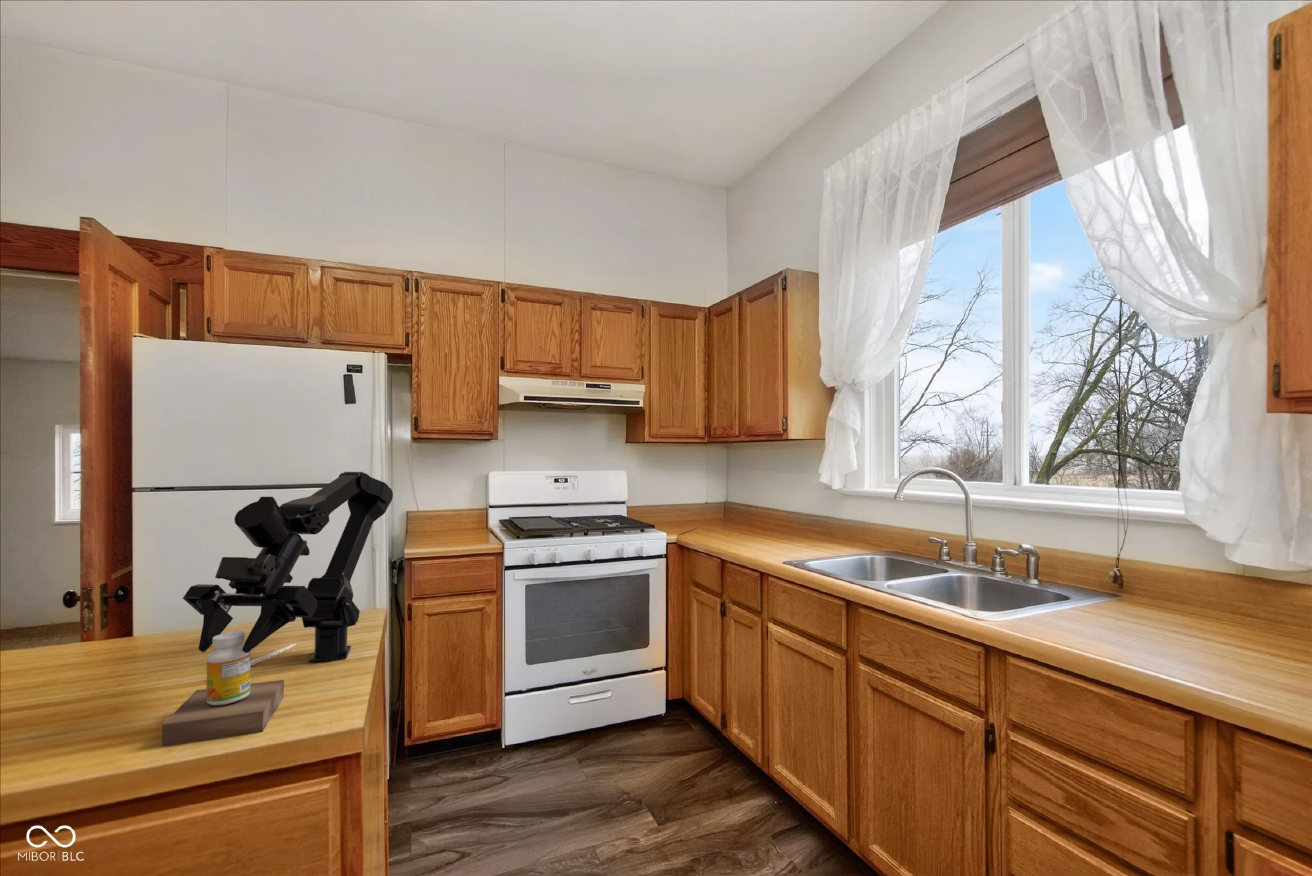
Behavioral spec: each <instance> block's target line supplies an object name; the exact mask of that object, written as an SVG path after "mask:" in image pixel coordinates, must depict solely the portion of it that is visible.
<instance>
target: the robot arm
mask: <svg viewBox="0 0 1312 876" xmlns="http://www.w3.org/2000/svg"><path fill="white" fill-rule="evenodd" d="M393 497H394V493H393V490H392V488H391V487H390V486H389V485H388V484H387V483H385V482H384V481H382V480H380V479H377V478H374V477H371V476H370V475H369V474H368V473H366V472H363V471H344V472H341V473H339V475H338V477H337V478H335V479H334V480H332V481H331V482H329V483H327V484H326V485H324V486H323V487H322V488H321V489H318V490H317V491H315V492H314V493H312V495H309V496H306V497H301V498H296V499H292V500H290V501H286V502H283V503H282V504H281V505H280V506H279V505H278V503H277V500H276V499H275V498H274V496H260V497H259V499H258V500H257V501H254V502H251V503H249V504H247V505H246V506H244V507H242V509H240V510H238V511H237V512H236V513H235V516H234V523H235V525H236V527H237V528H239V529H240V531H241V532H242V533H243V534H244V536H245V537H246V538H247V539H248V541H250V543H251V544H252V545H253V546H254V547H257V548H261V550H260V552H259V553H258V555H257V556H256V557H244V556H243V557H241V556H239V557H238V556H223V557H221V560H220V562H219V565H218V568H217V570H216V573H215V579H218V580H220V579H222V580H227V581H229V583H228V586H229V587H230V588H231V589H233V590H234V589H235V590H236V591H235V592H230V593H229V592H228V593H227V592H226V591H225V590H224V589H223V588H222V587H221V586H220V585H219V584H204V583H203V584H201V583H200V584H199V583H197V584H195V585H191V586H190V587H189V589H188V590H187V591H186V593H185V594H184V595H183V597H182V599H183V600H184V601H185V602H186V603H188V605H190V606H191V607H192V608H193V609H194V610H195V611H197V613H199V614H200V615H203V623H202V628H201V634H200V639H199V645H198V650H199V652H201V653H205V652H206V651H207V650H208V649H209V648H210V647H212V646H213V637H215V636H217V635H220V634H223V631H225V629H226V628H227V627H228V626H229V624H230V623H231V622H232V621H233V619H234V618H233V617H232V616H231V614H229V611H230V610H231V608H232V607H260V613H259V616H258V617H257V620H256V622H255V623H254V625H253V627H252V629H251V630H250V632H249V634H248V635H247V637H246V638H245V640H244V643H243V645H244V646H243V648H242V651H243V652H245V653H248V652H250V653H251V651H252V650H253V649H255V648H256V647H257V646H258V645H260V644H261V643H262V642H264V641H265V640H267V638H269V637H270V636H271V635H272V634H274V633H276V632H277V631H278V630H280V629H281V628H283V627H284V626H286V625H287V624H288V623H291V622H295V621H296V620H297V618H301V621H302V625H303V628H305V629H306V628H314V650H313V653H312V655H310V658H309V660H308V661H309V663H315V662H324V661H325V662H326V661H332V660H333V661H334V660H342V659H347V658H348V656H349V654H350V651H351V648H352V646H351V645H348V628H349V627H353V626H356V625H357V623H358V622H359V618H360V613H361V612H360V609H359V608H358V606H357V605H356V604H355V603H354V601H353V600H354V599H353V598H354V592H353V591H354V590H353V587H352V585H351V580H352V578H353V575H354V573H355V569H356V567H357V565H358V562H359V559H360V557H361V555H362V553H363V552H362V551H363V549H364V547H365V545H366V541H367V540H368V537H369V535H370V532H371V530H372V527H373V524H374V523H375V521H377V520H379V518H380V517H382V516H383V515H384V514H385V513H386V511H387V509H388V508H389V506H390V504H391V503H392V501H393ZM346 502H347V507H348V509H349V517H348V520H347V522H346V525H345V526H344V528H343V531H342V533H341V536H340V538H339V540H338V543H337V545H336V547H335V550H334V552H333V555H332V556H331V559H330V561H329V564H328V567H327V568H326V570H325V573H324V574H323V575H322V576H321V577H312V578H311V579H310V580H309V582H308V585H307V587H306V586H305V585H285V584H291V582H292V581H293V579H294V577H293V576H292V575H291V573H292V570H293V568H294V567H295V565H296V563H297V561H298V559H299V558H300V557H301V556H304V557H305V556H310V549H309V546H308V542H307V541H308V540H304V539H303V537H301V535H317V534H319V533H320V532H321V531H323V529H324V528H325V527H326V526H327V525H328V523H330V515H331V514H332V513H333V512H334V511H335V510H336V509H338V508H339V507H341V506H342V505H344V503H346Z"/></svg>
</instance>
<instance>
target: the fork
mask: <svg viewBox="0 0 1312 876" xmlns="http://www.w3.org/2000/svg"><path fill="white" fill-rule="evenodd" d="M296 645H297V643H293V644H290V645H287V646H285V647H282V648H280V649H278V650H275V651H273V652H270V653H268V654H264V655H262V656H259V657H256V658H255V659H252V660H250V667H252V666H251V665H253V664H255V663H257V662H259V661H262V660H264V659H266V658H268V657H270V658H272V657H274V656H276V655H278V654H280V653H282V652H284V651H286V650H288V649H290V648H293V647H294V646H296ZM285 649H286V650H285ZM279 652H280V653H279ZM277 653H278V654H277ZM273 655H274V656H273ZM271 656H272V657H271ZM268 659H269V658H268ZM266 660H267V659H266ZM264 661H265V660H264ZM262 662H263V661H262ZM257 664H258V663H257ZM255 665H256V664H255ZM253 666H254V665H253Z"/></svg>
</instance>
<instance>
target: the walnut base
mask: <svg viewBox="0 0 1312 876" xmlns="http://www.w3.org/2000/svg"><path fill="white" fill-rule="evenodd" d="M284 686H285V680H284V679H280V680H271V681H264V682H254V683H250V694H249V695H248V696H247V697H245V698H243V699H241V700H238V701H235V702H232V703H229V704H224V705H210V704H208V703H207V688H202V689H196V690H195V691H194V692H193V693H191V695H190V696H189V697H188V698H187V699H186V700H185V701H184V702H183V703H182V704H181V705H180V706H179V707H178V708H177V709H176V710H175V711H174V712H173V713H172V714H171V715H170V716H169V717H168V718H167V719H166V720H165V721H164V722H163V723H162V724H161V747H166V746H173V745H180V744H186V743H194V742H200V741H207V740H214V739H222V738H227V737H235V736H242V735H248V734H257V733H263V732H264V730H265V729H266V727H267V725H268V724H269V722H270V721H271V719H272V717H273V716H274V714H275V713H276V711H277V709H278V708H279V706H280V704H281V703H282V701H283V699H284V691H285V689H284V688H285V687H284ZM267 723H268V724H267Z"/></svg>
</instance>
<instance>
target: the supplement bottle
mask: <svg viewBox="0 0 1312 876" xmlns="http://www.w3.org/2000/svg"><path fill="white" fill-rule="evenodd" d="M245 634H246V633H245V632H244V631H231V632H225V633H221V634H220V635H217V636H215V637H213V644H212V648H213V650H212V651H210V652H209V653H208V654H207V656H206V689H207V703H208V704H210V705H224V704H229V703H232V702H235V701H238V700H241V699H243V698H245V697H247V696H248V695H249V694H250V684H251V666H250V661H251V651H250V652H248V653H245V652H243V651H242V648H243V646H244V643H245V641H246V638H245V637H246V635H245Z"/></svg>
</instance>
